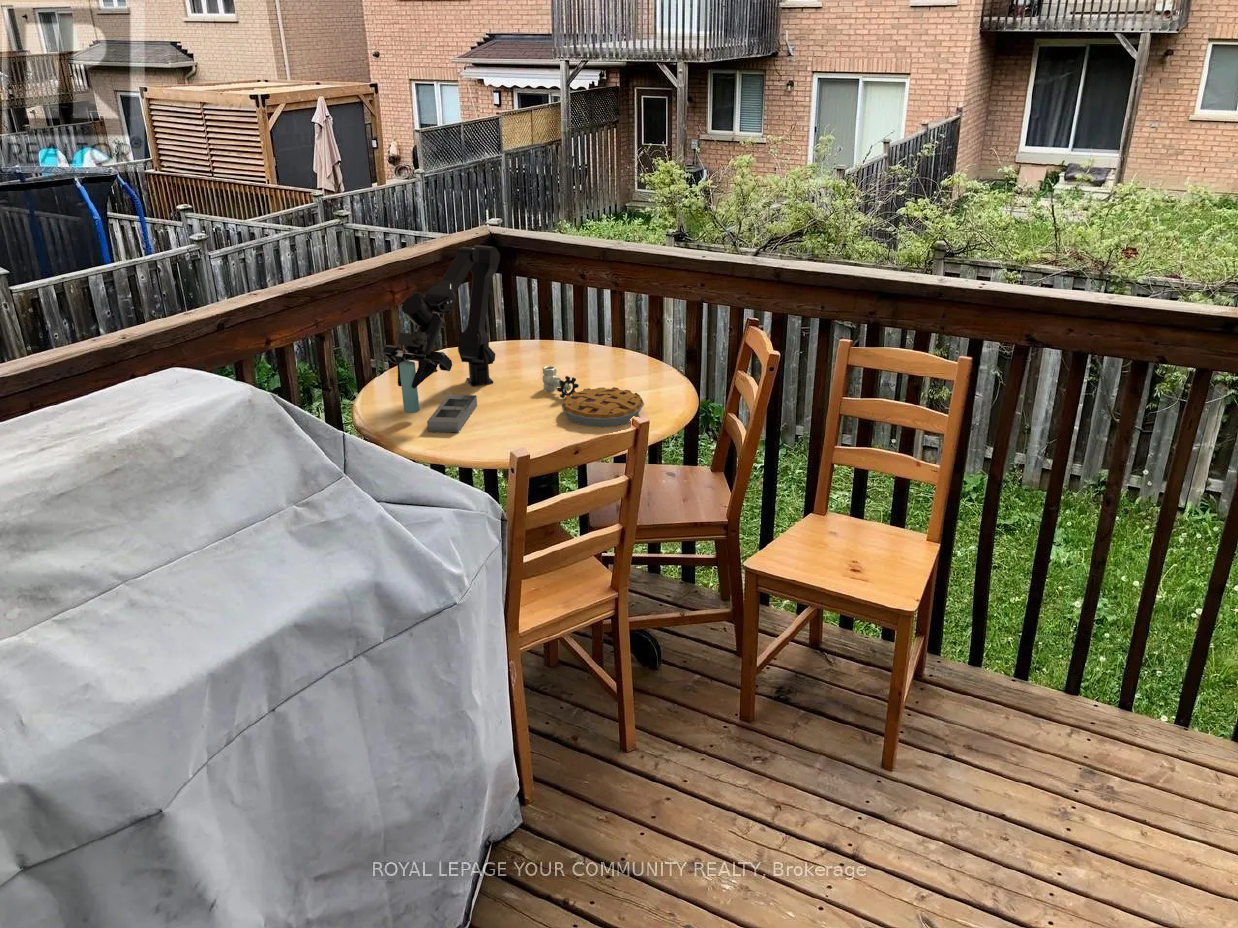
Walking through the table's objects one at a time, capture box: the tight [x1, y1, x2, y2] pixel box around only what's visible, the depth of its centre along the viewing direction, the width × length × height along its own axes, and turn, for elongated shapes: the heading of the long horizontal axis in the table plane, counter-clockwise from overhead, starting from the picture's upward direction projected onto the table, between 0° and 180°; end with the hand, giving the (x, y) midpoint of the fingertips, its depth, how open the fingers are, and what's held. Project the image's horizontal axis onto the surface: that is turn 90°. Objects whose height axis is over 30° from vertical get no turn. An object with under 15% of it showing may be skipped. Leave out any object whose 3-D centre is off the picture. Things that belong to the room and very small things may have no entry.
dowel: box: [399, 360, 420, 414], centre depth 260 cm, size 4×4×13 cm
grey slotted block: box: [426, 394, 478, 434], centre depth 264 cm, size 20×8×3 cm, turn 174°
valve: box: [542, 365, 580, 399], centre depth 280 cm, size 7×7×12 cm
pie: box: [560, 386, 645, 428], centre depth 265 cm, size 22×22×5 cm
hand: (406, 386), depth 259 cm, fingers closed on dowel, 4 cm apart
